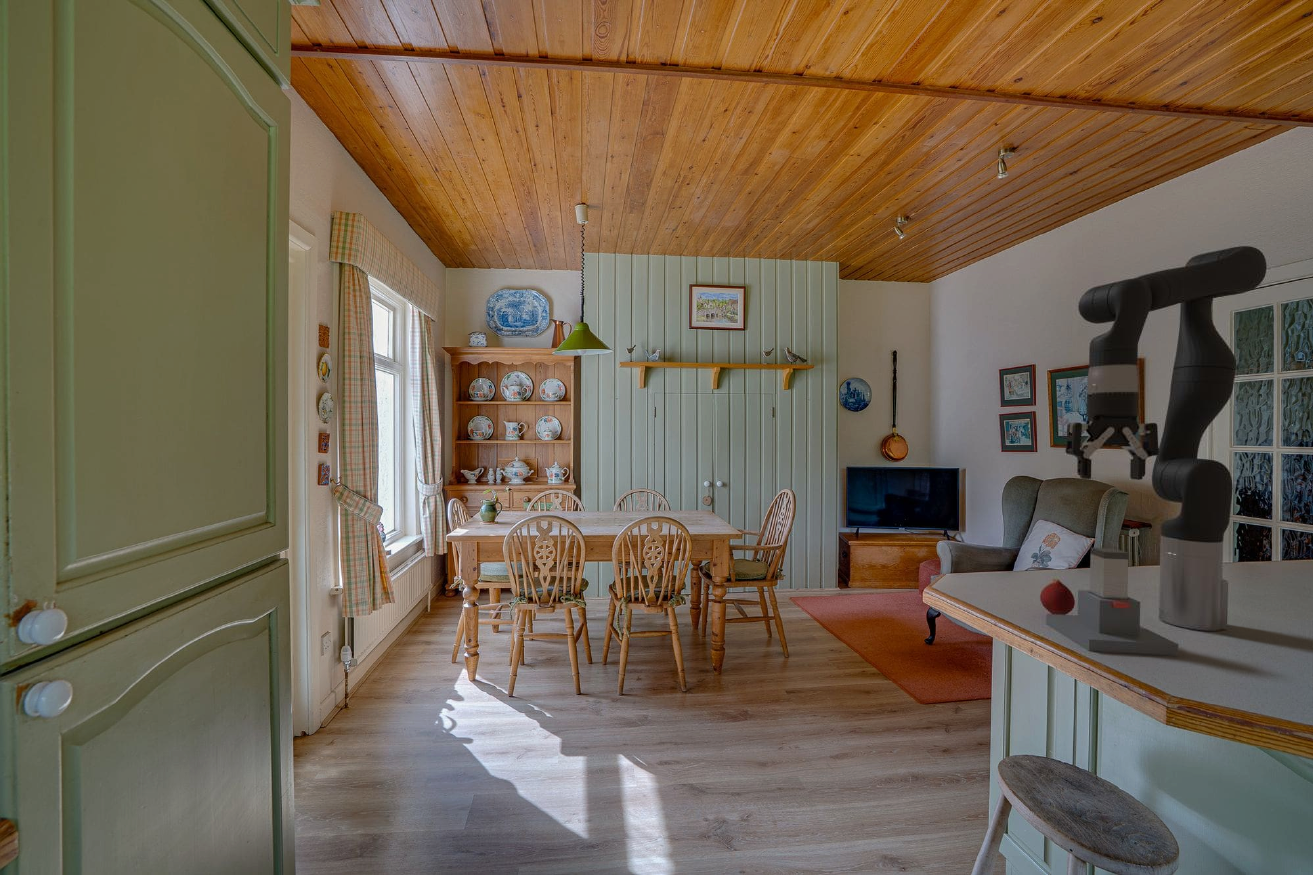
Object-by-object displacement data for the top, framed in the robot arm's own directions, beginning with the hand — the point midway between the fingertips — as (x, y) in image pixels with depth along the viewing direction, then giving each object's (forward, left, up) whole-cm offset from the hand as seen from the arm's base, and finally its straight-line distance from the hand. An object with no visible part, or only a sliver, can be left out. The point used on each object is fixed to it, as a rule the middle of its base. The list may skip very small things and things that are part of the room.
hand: (1110, 479), depth 106 cm
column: (0, 0, -27) cm, 27 cm away
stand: (0, 0, -30) cm, 30 cm away
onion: (+3, -12, -30) cm, 32 cm away
